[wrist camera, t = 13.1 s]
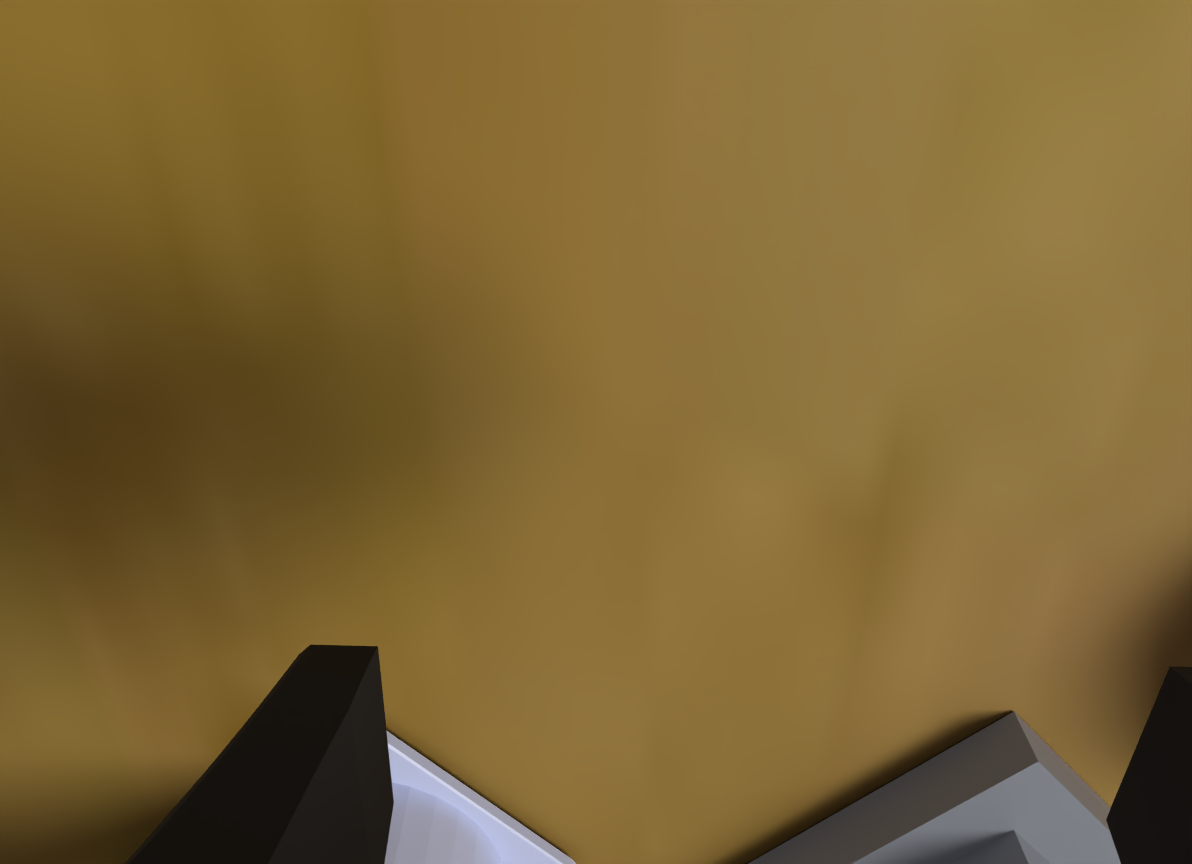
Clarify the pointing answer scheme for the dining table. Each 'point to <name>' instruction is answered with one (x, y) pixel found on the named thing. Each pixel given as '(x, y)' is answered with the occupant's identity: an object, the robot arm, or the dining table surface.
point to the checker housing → (968, 811)
